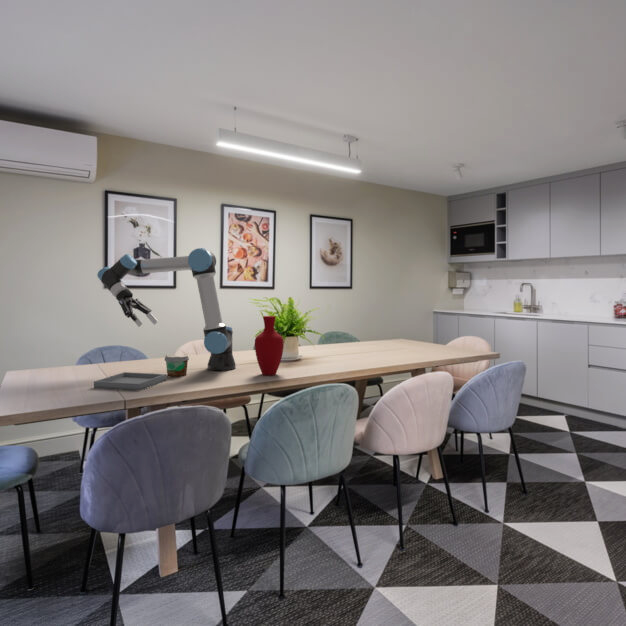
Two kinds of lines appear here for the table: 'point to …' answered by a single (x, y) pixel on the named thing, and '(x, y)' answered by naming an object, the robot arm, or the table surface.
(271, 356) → the vase
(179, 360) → the food container
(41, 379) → the table surface
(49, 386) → the table surface
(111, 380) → the gray square tray
